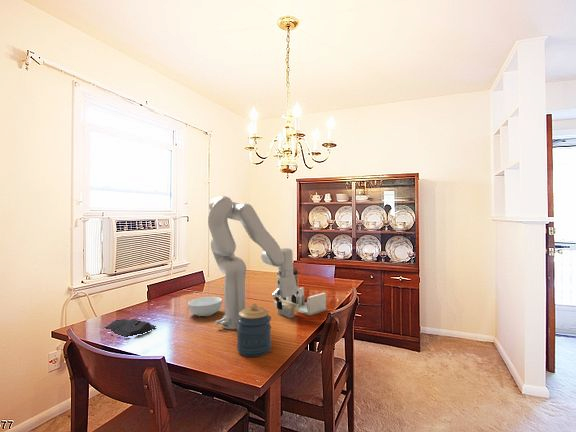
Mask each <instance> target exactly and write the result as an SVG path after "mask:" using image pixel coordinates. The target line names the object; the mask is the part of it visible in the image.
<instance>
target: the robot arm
mask: <svg viewBox="0 0 576 432" xmlns="http://www.w3.org/2000/svg"><path fill="white" fill-rule="evenodd" d="M208 207H209V212H208V218H207V225H208V229H209V232H210V235H211V237H212V239H211V242H210V249H211V252H212V255H213V258H214V259H215V262H216V264H217V266H218V269H219V271H220V272H222V273H223V274H224V277H225V278H224V285H223V286H224V287H223V288H224V291H223V294H224V315H222V318H221V319H217V320H215V322H214V324H215V326H219V325H220V326H221V327H222V328H223V329H226V330H237V327H238V323H237V318H238V317H240V316H239V312H240V311H242V310H243V309H244V308H246V275H247V265H246V262H245V261H244V260H243V259H242V258H241V257H238V256H236V254H235V251H236V249H237V245H236V241H235V239H234V237H233V234H232V231H231V229H230V226H229V223H228V219H229V220H234V221H237V222H238V221H239V222H240V224H241V225H242V227H243V229H244V230H245V232H246V233H247V235H248V236H249V237H248V238H250V240H252V241H253V242H254V243H255V244H256V245H258V246H259V247H260V248H261V249H262V250H263V251H262V252H261V256H260V258H261V260H262V262H263V263H264V264H266V265H269V266H272V267H277V270H278V271H277V272H276V274H277V275H276V276H277V280H276V290H274V292H273V293H272V295H271V296H272V298H273V299H274V300H275V301H277V308H276V309H277V310H278V309H280V310H282V302H281V300H283V297H288V296H291V302H292V303H295V304H297V302H296V297H297V295H298V293H299V289H300V288H301V287H300V286H298V285H297V286H296V279H295V275H293V268H294V254H293V249H291V248H288V247H287V248H286V247H283V248H281V247H280V245H279V244H278V242H277V241H276V239H275V238H274V237H273V236H272V235H271V234H270V232H269V231H268V230H267V229H266V228H265V226H264V224H263V223H262V221H261V219H260V217H259V215H258V214H257V212H256V210H255V208H254V207H253V205H251V204H249V203H238V202H234V201H233V200H232V199H231V198H230V197H229V196H224V195H221V196H217V197H214V198H212V199H211V200H210V202H209V204H208Z"/></svg>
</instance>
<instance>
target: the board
mask: <svg viewBox="0 0 576 432" xmlns="http://www.w3.org/2000/svg"><path fill="white" fill-rule="evenodd" d="M281 302H282V310H285V311H288V312H293V311H294V312H298V311H297V310H299V304H295V303H292V302H289V301H286V300H283V299H282V300H281ZM272 303H273V304H272V305H273V307H274V308H276V309H277V301H276V300H275V301H273V302H272Z"/></svg>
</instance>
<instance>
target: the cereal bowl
mask: <svg viewBox="0 0 576 432" xmlns="http://www.w3.org/2000/svg"><path fill="white" fill-rule="evenodd" d="M187 303H188V305H187V306H188V307H187V308H188V310H189V312H190V313H191V314H193V315H195V316H198V317H200V316H207V317H211V316H213V315H214V314H215V313H217V312H218V311H219V310H221V308H222V306H223V299H222V298H221V297H218V296H202V297H197V298H194V299H191V300H189V301H188V302H187Z"/></svg>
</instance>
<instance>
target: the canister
mask: <svg viewBox="0 0 576 432" xmlns="http://www.w3.org/2000/svg"><path fill="white" fill-rule="evenodd" d="M269 314H270V313H269V310H268V309H266V308H265V307H264V306H263V307H262V306H258V304H257V303H254V302H253V303H251V304H250V306H248V307H245V308H244V309H243V310H242V311H240V312H239V316H240V317H238V318H237V323H238V327H237V329H236V332H237V344H236V346H237V347H236V348H237V353H239V354H240V355H241V356H243V357H248V358H256V357H261V356H265V355H267V354H268V353H270V351H271V350H272V334H271V333H272V332H271V331H272V325H271V323H270V322H271V320H272V316H270V315H269Z"/></svg>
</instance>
